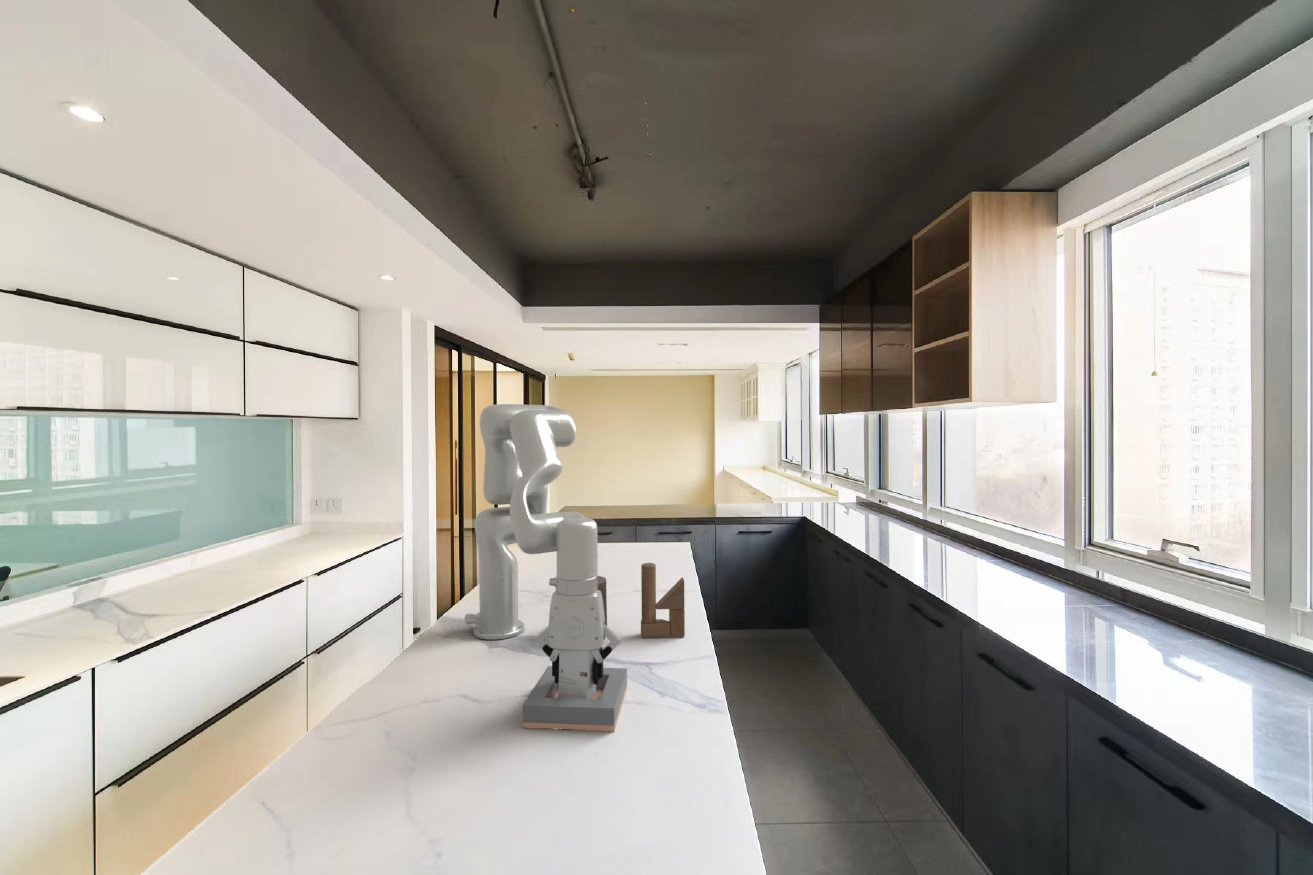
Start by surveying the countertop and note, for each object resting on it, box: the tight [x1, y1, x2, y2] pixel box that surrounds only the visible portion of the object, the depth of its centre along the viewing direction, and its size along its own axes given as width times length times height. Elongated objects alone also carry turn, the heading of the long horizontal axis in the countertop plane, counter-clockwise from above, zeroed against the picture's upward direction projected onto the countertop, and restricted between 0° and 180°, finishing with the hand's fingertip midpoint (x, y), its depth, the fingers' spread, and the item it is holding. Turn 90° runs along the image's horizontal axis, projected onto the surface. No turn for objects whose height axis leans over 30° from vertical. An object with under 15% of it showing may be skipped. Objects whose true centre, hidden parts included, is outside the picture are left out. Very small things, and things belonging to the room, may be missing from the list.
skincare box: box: [558, 650, 596, 699], centre depth 104 cm, size 6×4×12 cm
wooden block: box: [640, 562, 686, 639], centre depth 140 cm, size 4×11×18 cm, turn 93°
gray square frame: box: [522, 665, 628, 733], centre depth 104 cm, size 16×16×4 cm
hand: (577, 679), depth 104 cm, fingers closed on skincare box, 6 cm apart
